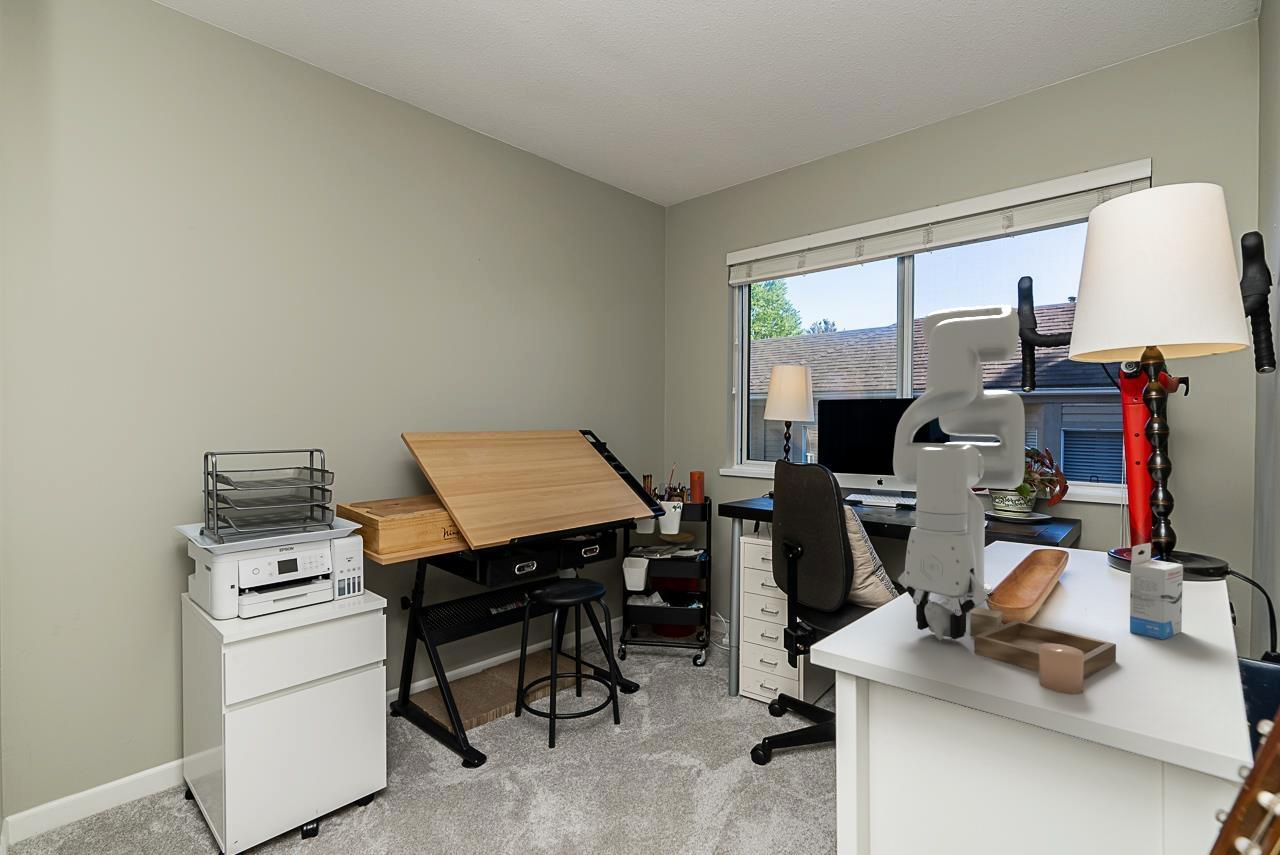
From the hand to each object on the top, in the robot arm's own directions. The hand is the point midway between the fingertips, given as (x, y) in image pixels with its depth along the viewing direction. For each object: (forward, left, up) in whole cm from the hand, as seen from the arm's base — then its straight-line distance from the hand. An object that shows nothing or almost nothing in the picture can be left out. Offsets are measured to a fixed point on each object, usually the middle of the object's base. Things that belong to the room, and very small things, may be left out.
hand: (940, 631), depth 104 cm
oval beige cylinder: (+19, -4, -1) cm, 20 cm away
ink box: (+19, +35, -2) cm, 40 cm away
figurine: (0, 0, -1) cm, 1 cm away
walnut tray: (+13, +6, -1) cm, 14 cm away
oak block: (+3, +9, -1) cm, 9 cm away
